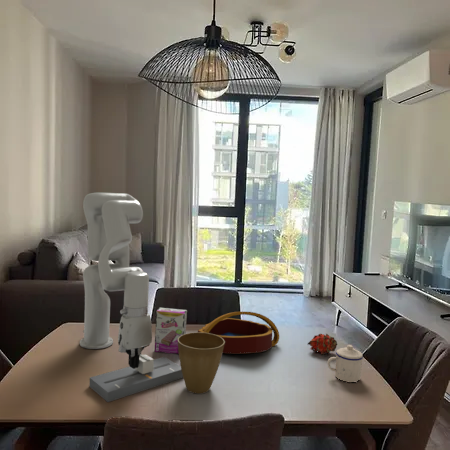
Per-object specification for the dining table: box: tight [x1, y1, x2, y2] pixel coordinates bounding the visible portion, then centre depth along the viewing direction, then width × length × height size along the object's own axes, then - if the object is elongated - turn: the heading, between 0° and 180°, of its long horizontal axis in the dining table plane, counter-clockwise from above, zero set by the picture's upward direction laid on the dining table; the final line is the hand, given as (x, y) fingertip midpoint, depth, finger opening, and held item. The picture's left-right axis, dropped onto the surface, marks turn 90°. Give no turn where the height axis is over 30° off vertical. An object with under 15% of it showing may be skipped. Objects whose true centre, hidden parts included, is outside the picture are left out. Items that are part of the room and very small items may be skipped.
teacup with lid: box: [327, 344, 364, 382], centre depth 150 cm, size 12×9×12 cm
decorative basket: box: [197, 311, 280, 355], centre depth 174 cm, size 34×29×15 cm
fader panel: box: [88, 356, 184, 403], centre depth 139 cm, size 12×28×3 cm, turn 133°
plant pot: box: [178, 331, 225, 395], centre depth 136 cm, size 15×15×16 cm
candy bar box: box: [154, 307, 188, 355], centre depth 165 cm, size 11×5×16 cm, turn 84°
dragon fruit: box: [307, 333, 338, 355], centre depth 173 cm, size 8×8×12 cm
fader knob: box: [135, 353, 155, 374], centre depth 140 cm, size 5×4×4 cm
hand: (133, 366), depth 137 cm, fingers closed
